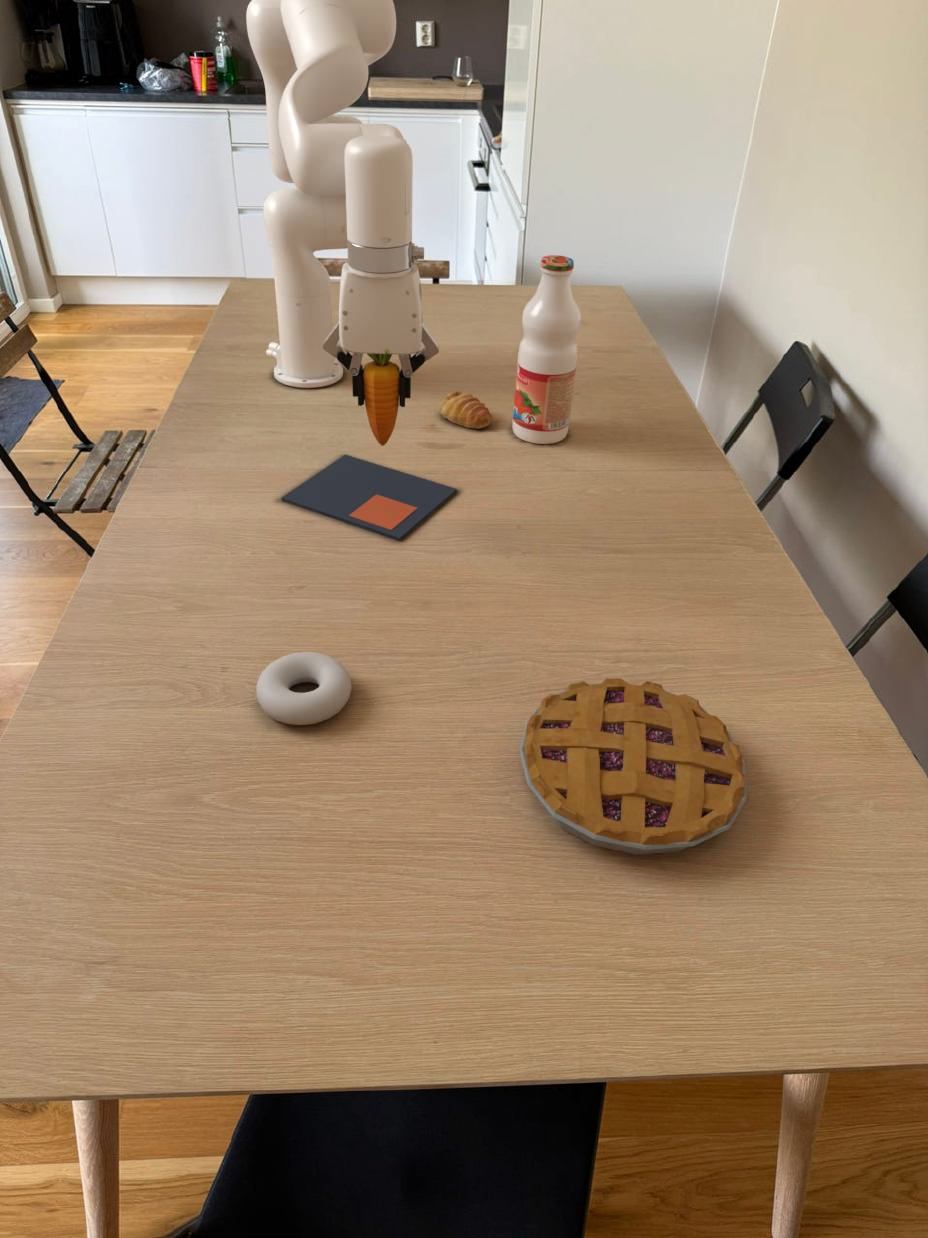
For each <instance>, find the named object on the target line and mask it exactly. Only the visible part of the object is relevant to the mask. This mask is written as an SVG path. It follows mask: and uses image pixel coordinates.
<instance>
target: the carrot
mask: <svg viewBox="0 0 928 1238" xmlns="http://www.w3.org/2000/svg"><path fill="white" fill-rule="evenodd" d="M385 353H386V354H366V355H367V356H369V358H370V359H372V361H370V362H367V363H366V364H365V365H364V367H363V369H364V374H363V381H364V397H365V400H364V405H365V411H366V416H367V420H368V424H369V427H370V430H371V432H372V434H373V437H374V438H375V440H376V441H377V443H378V444H379V445H380V446H382V447H384V446H385V445H386V444H388V442H389V440H390V438H391V437H392V434H393V432H394V429H395V426H396V423H397V418H398V412H399V407H400V406H399V377H400V370H401V369H400V367H399V365H398V364H396V363H395V362H393V361H390V360H391V358H392V356H393V354H388V353H389V351H388V350H387V349H386V350H385Z"/></svg>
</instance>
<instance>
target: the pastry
mask: <svg viewBox="0 0 928 1238" xmlns="http://www.w3.org/2000/svg"><path fill="white" fill-rule="evenodd" d="M439 412H440V413H441V415H442V416H443V418H444V419H447V421H449V422H451V423H453V424H457V425H458V426H460V427H461V426H462V427H463V428H467V429H478V430H481V429H483V428H485V427H487V426H489V425H490V424H491V421H492V419H493V415H492V414H491V412H490V409H489V408H488V407H486V404H485V403H484V402H481V400H479V398H478V397H476V396H475V397H474V396H473V395H472V394H470V393H465V394H464V393H463V392H462V391H459V390H453V391H451V392H449V393H448V394H447V395H446V396H444V397H443V399H442V401H441V402H440V404H439Z"/></svg>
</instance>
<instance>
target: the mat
mask: <svg viewBox="0 0 928 1238" xmlns="http://www.w3.org/2000/svg"><path fill="white" fill-rule="evenodd" d="M457 492H458V489H457V488H456V487H452V486H448V485H445V484H442V483H439V482H435V481H432V480H429V479H427V478H426V479H425V478H423V477H419V476H416V475H413V474H410V473H407V472H404V471H401V470H397V469H393V468H390V467H387V466H384V465H381V464H377V463H374V462H371V461H368V460H365V459H361V458H357V457H355V456H351V455H348V454H344V455H342V456H340V457H339V458H337V459H336V460H334V461H333V462H332V463H331V464H329V465H328V466H326V467H325V468H323V469H321V470H320V471H319V472H317V473H315V474H314V475H313V476H311V477H310V478H308V479H307V480H306V481H304V482H303V483H301V484H300V485H298V486H296V487H295V488H293V489H292V490H290V491H289V492H288V493H286V494H285V495H283V496H281V498H280V499H281V501H282V502H285V503H288V504H291V505H293V506H296V507H300V508H303V509H306V510H308V511H310V512H311V511H312V512H314V513H317V514H321V515H323V516H326V517H329V518H332V519H335V520H338V521H341V522H344V523H346V524H349V525H352V526H356V527H359V528H361V529H364V530H368V531H370V532H373V533H376V534H379V535H381V536H384V537H388V538H391V539H392V540H393V539H394V540H396V541H399V542H400V541H402V539H404V538H406V536H407V535H408V534H409V533H411V532H412V531H413V530H414V529H416V528H417V527H418V526H419V525H421V523H422V522H423V521H425V520H426V519H427V518H428V517H429V516H431V514H433V513H434V512H435V511H436V510H438V509H439V508H440V507H441V506H442V505H444V503H446V502H447V501H448V500H449V499H450V498H452V497H453V496H454V495H455V494H456V493H457Z"/></svg>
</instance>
